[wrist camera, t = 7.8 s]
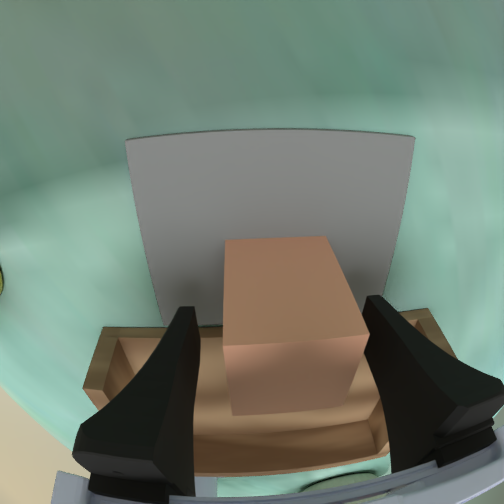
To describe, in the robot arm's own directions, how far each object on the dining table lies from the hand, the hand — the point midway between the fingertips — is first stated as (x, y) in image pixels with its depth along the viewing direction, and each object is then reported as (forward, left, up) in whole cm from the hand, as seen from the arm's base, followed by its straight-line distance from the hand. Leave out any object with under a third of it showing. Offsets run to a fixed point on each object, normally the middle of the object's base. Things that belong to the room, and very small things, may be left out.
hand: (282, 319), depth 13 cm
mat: (+2, 0, -3) cm, 4 cm away
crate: (-10, 0, -3) cm, 11 cm away
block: (0, 0, -3) cm, 3 cm away
